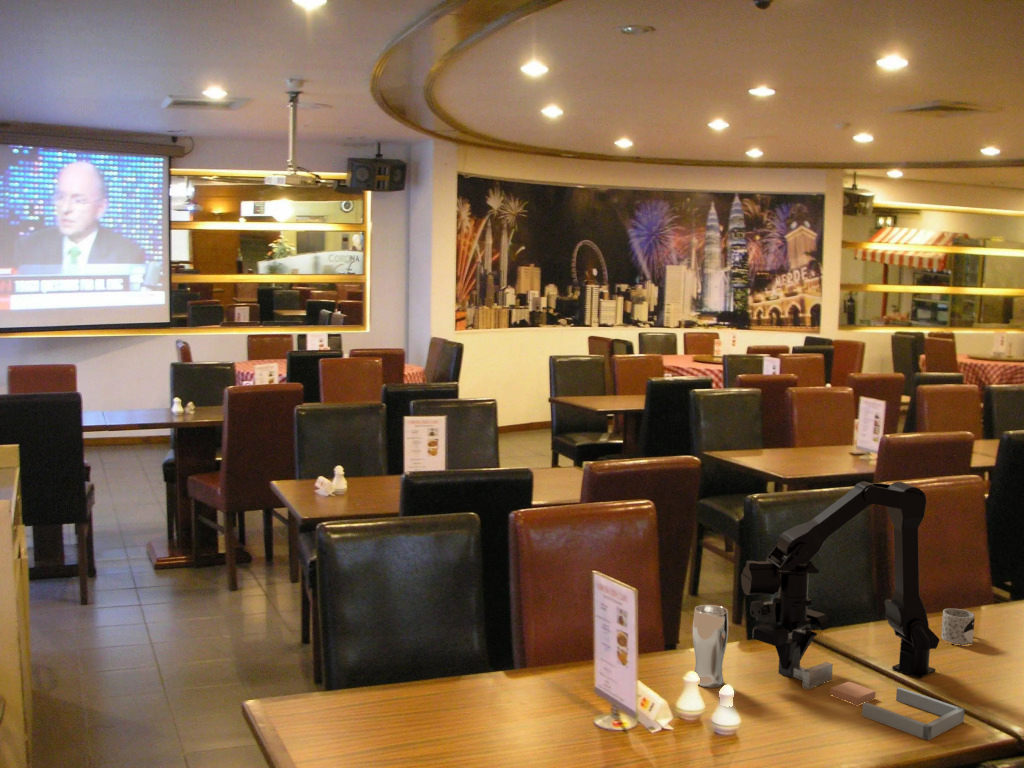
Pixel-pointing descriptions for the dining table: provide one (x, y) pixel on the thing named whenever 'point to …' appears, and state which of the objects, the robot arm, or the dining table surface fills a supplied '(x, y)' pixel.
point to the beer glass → (710, 643)
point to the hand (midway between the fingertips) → (789, 667)
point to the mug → (958, 626)
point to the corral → (926, 731)
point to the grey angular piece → (807, 671)
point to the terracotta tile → (853, 693)
